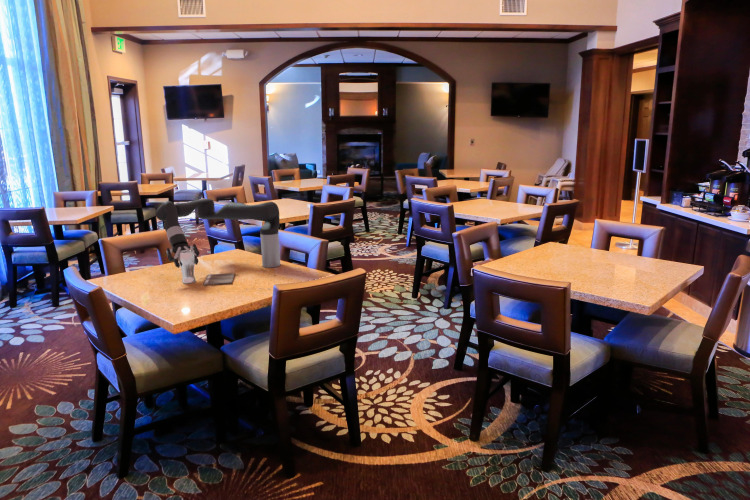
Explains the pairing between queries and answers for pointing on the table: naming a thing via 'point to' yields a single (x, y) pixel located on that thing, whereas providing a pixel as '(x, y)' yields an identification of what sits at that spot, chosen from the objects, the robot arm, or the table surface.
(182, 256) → the beer glass
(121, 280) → the table surface
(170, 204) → the robot arm
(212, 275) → the board
